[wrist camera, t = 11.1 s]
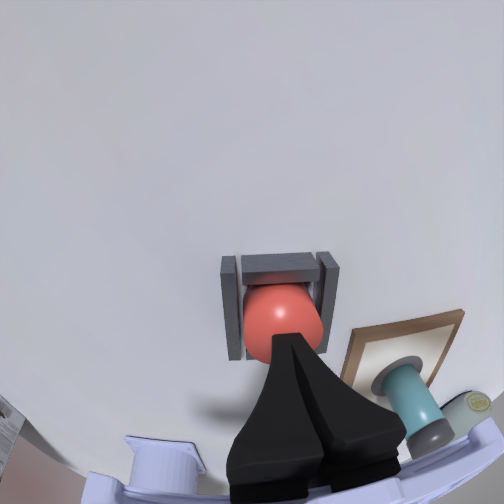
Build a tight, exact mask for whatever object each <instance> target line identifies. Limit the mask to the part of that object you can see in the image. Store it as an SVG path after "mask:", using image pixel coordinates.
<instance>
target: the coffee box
mask: <svg viewBox="0 0 504 504" xmlns="http://www.w3.org/2000/svg"><path fill="white" fill-rule="evenodd" d="M25 419H26V418H25V417H24V416H23V415H22V414H21V413H19V412H18V411H17V410H16V409H15V408H14V407H13V406H12V405H10V404H9V403H8V402H7V401H6V400H5V399H4V398H3V397H2V396H1V395H0V481H1V478H2V475H3V472H4V470H5V467H6V464H7V461H8V459H9V456H10V454H11V451H12V449H13V447H14V444H15V442H16V440H17V437H18V435H19V433H20V430H21V428H22V426H23V424H24V422H25Z"/></svg>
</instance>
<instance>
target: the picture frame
mask: <svg viewBox="0 0 504 504" xmlns="http://www.w3.org/2000/svg"><path fill="white" fill-rule="evenodd" d="M464 314H465V312H464V311H463V310H462V309H458V310H454V311H449V312H445V313H440V314H436V315H431V316H426V317H421V318H416V319H411V320H406V321H400V322H394V323H389V324H382V325H376V326H370V327H363V328H356V329H352V334H351V338H350V342H349V346H348V350H347V354H346V358H345V362H344V365H343V369H342V373H341V376H340V379H341V380H342V381H343V382H345V383H346V384H347V385H348V386H350V387H351V388H352V389H353V390H355V391H356V392H358V393H359V394H361V395H362V396H364V397H365V398H367V399H368V400H370V401H372V402H374V403H376V404H378V405H379V406H381V407H384V408H386V409H388V410H390V411H393V410H392V408H391V406H390V404H389V401H388V399H387V397H386V395H385V393H384V391H383V389H382V386H381V383H382V381H383V379H384V377H385V376H386V375H387V374H388V373H389V372H390V371H392V370H393V369H395V368H396V367H398V366H400V365H403V364H413V365H414V366H415V368H416V370H417V371H418V373H419V375H420V376H421V378H422V379H423V381H424V383H425V384H426V386H427V388H429V386H430V385H431V383H432V381H433V379H434V378H435V376H436V374H437V372H438V370H439V368H440V366H441V365H442V363H443V361H444V359H445V357H446V355H447V353H448V351H449V349H450V346H451V344H452V342H453V340H454V338H455V336H456V333H457V331H458V329H459V326H460V324H461V322H462V319H463V317H464Z"/></svg>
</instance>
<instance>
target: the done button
mask: <svg viewBox="0 0 504 504" xmlns="http://www.w3.org/2000/svg"><path fill="white" fill-rule="evenodd" d="M243 323H244V342H245V346H246V349H247V351H248V352H249V353H250V355H251V356H253V357H254V358H255V359H257V360H258V361H260V362H263V363H266V364H270V363H271V351H272V336H273V335H274V334H285V333H297V332H300V333H301V334H302V335H303V337H304V338H305V339H306V341H307V342H308V344H309V345H310V346H311V348H312V349H313V350H315V349H316V348H317V347H318V346H319V344H320V342H321V340H322V337H323V325H322V322H321V320H320V317H319V315H318V312H317V310H316V308H315V305H314V303H313V301H312V298H311V296H310V293H309V291H308V289H307V287H306V285H305V284H304V283H303V282H292V283H275V284H255V285H250V286H249V287H248V289H247V290H246V292H245V294H244V297H243Z"/></svg>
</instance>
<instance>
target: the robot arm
mask: <svg viewBox="0 0 504 504" xmlns="http://www.w3.org/2000/svg"><path fill="white" fill-rule="evenodd" d="M406 434H407V430H406V427H405V425H404V423H403V421H402V420H401V418H400V417H399V415H398V414H397V413H395V412H393V411H390V410H388V409H386V408H384V407H381V406H379V405H378V404H376V403H374V402H372V401H370V400H368V399H367V398H365V397H364V396H362V395H361V394H359V393H358V392H356V391H355V390H353V389H352V388H351V387H350V386H348V385H347V384H346V383H345V382H343V381H342V380H341V379H340V378H339V377H338V376H337V375H336V374H335V373H334V372H333V371H332V370H331V369H330V368H329V367H328V366H327V365H326V364H325V363H324V362H323V361H322V360H321V359H320V357H319V356H318V355H317V354H316V353H315V351H314V350H313V349H312V348H311V346H310V345H309V344H308V342H307V341H306V339H305V338H304V337H303V335H302V334H301V333H300V332H297V333H285V334H274V335H273V336H272V351H271V363H270V368H269V371H268V375H267V378H266V381H265V384H264V387H263V390H262V392H261V395H260V397H259V399H258V401H257V404H256V406H255V408H254V410H253V411H252V413H251V415H250V417H249V418H248V420H247V422H246V423H245V425H244V427H243V428H242V429H241V431H240V432H239V434H238V435H237V436H236V438H235V439H234V442H233V445H232V447H231V450H230V452H229V455H228V458H227V463H226V476H227V479H228V482H229V484H230V496H219V495H197V494H198V474H206V470H205V468H204V466H203V464H202V462H201V459H200V457H199V455H198V453H197V451H196V449H195V446H194V445H193V444H192V443H183V442H170V441H159V440H150V439H142V438H135V437H129V436H125V438H124V440H125V441H126V443H127V444H128V445H129V446H130V448H131V449H132V450H133V451H134V453H135V456H134V461H133V466H132V471H131V476H130V482H129V486H128V485H124V484H122V483H121V482H120V481H119V480H118V479H116V478H113V477H110V476H107V475H103V474H99V473H95V472H92V471H90V472H88V476H87V480H86V484H85V487H84V491H83V496H82V500H81V504H428V503H430V502H431V501H434V500H436V499H437V498H439V497H441V496H443V495H445V494H446V493H448V492H450V491H452V490H453V489H455V488H457V487H458V486H460V485H461V484H463V483H465V482H466V481H468V480H469V479H471V478H472V477H474V476H476V475H477V474H478V473H480V472H481V471H483V470H484V469H485V468H487V467H488V466H489V465H490V464H491V463H493V462H494V461H495V460H496V459H497V458H498V457H499V456H500V455H502V454H503V453H504V438H503V436H502V434H501V433H500V431H499V429H498V428H497V426H496V424H495V423H494V421H493V419H492V418H491V417H487V418H486V419H484V420H483V421H481V422H479V423H478V424H476V425H475V426H474V427H473V428H472V429H471V430H470V431H469V432H468V434H467V435H465V436H463V437H461V438H459V439H457V440H455V441H453V442H452V443H450V444H448V445H446V446H444V447H441V448H439V449H437V450H435V451H433V452H431V453H428V454H426V455H424V456H422V457H419V458H417V459H414V460H412V461H409V462H407V463H404V464H401V465H400V464H399V461H398V459H397V456H398V455H399V453H398V450H397V447H398V446H399V444H400V443H401V442H402V441H403V439H404V438H405V436H406Z"/></svg>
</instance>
